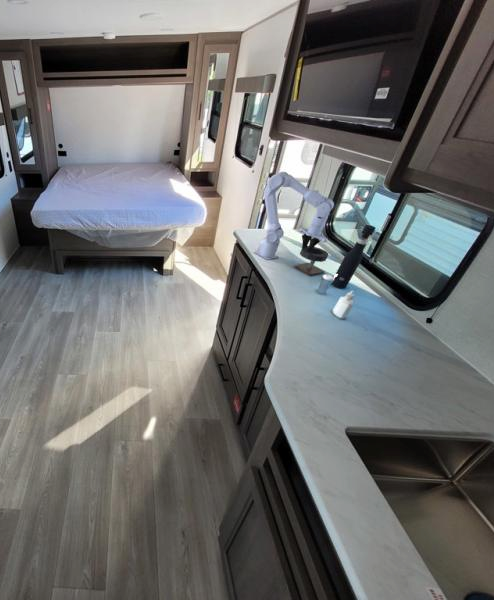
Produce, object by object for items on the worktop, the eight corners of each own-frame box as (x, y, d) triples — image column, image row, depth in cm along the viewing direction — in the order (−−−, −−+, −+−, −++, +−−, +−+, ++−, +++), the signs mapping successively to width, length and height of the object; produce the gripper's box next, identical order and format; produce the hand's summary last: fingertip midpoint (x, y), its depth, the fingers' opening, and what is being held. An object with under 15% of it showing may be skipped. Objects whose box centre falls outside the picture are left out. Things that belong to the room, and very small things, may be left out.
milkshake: (330, 295, 141) (340, 276, 136) (318, 294, 141) (328, 276, 136) (324, 290, 145) (334, 271, 139) (313, 289, 145) (322, 271, 139)
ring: (294, 252, 158) (296, 247, 157) (311, 249, 162) (313, 245, 161) (314, 263, 149) (317, 258, 148) (331, 259, 153) (333, 254, 152)
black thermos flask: (341, 282, 152) (373, 224, 135) (348, 289, 147) (382, 230, 129) (328, 281, 152) (358, 223, 135) (334, 288, 147) (367, 228, 130)
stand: (294, 267, 163) (298, 256, 160) (307, 264, 166) (312, 254, 163) (310, 276, 156) (315, 265, 152) (323, 273, 159) (329, 262, 155)
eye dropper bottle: (333, 317, 128) (347, 293, 121) (331, 309, 132) (345, 286, 125) (345, 320, 126) (360, 296, 119) (343, 312, 130) (357, 289, 124)
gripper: (299, 220, 155) (289, 245, 163) (324, 231, 144) (312, 257, 152) (309, 219, 157) (298, 243, 165) (335, 229, 146) (322, 255, 154)
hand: (306, 249), depth 158 cm, fingers closed on ring, 2 cm apart
